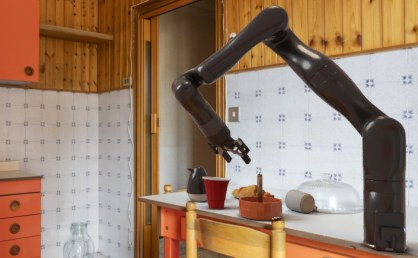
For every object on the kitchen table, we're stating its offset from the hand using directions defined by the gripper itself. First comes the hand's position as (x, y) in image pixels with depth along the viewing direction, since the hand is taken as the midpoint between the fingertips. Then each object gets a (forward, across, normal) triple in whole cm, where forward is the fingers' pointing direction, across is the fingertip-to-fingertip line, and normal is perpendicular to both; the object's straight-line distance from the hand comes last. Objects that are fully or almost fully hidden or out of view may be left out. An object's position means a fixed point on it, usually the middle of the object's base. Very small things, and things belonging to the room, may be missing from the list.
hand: (239, 161), depth 135 cm
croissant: (+38, +26, -10) cm, 47 cm away
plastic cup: (+20, +20, +8) cm, 29 cm away
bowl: (+21, 0, +7) cm, 22 cm away
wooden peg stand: (+20, 0, +6) cm, 21 cm away
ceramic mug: (+35, -2, -8) cm, 36 cm away
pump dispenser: (+23, +36, +5) cm, 43 cm away
